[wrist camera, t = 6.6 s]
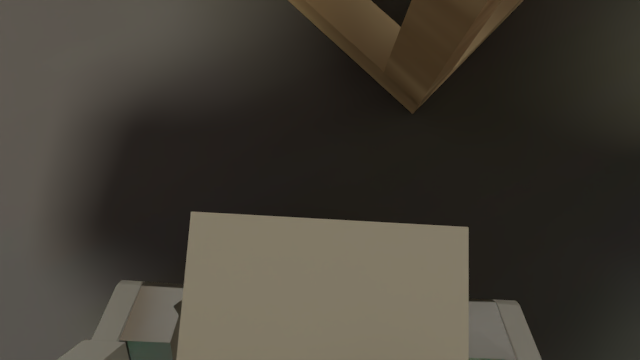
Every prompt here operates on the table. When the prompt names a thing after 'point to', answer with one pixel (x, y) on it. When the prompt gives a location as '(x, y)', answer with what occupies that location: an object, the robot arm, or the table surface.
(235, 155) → the table surface
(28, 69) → the table surface
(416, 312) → the stone block
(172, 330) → the robot arm
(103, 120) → the table surface
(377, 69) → the trapdoor frame
